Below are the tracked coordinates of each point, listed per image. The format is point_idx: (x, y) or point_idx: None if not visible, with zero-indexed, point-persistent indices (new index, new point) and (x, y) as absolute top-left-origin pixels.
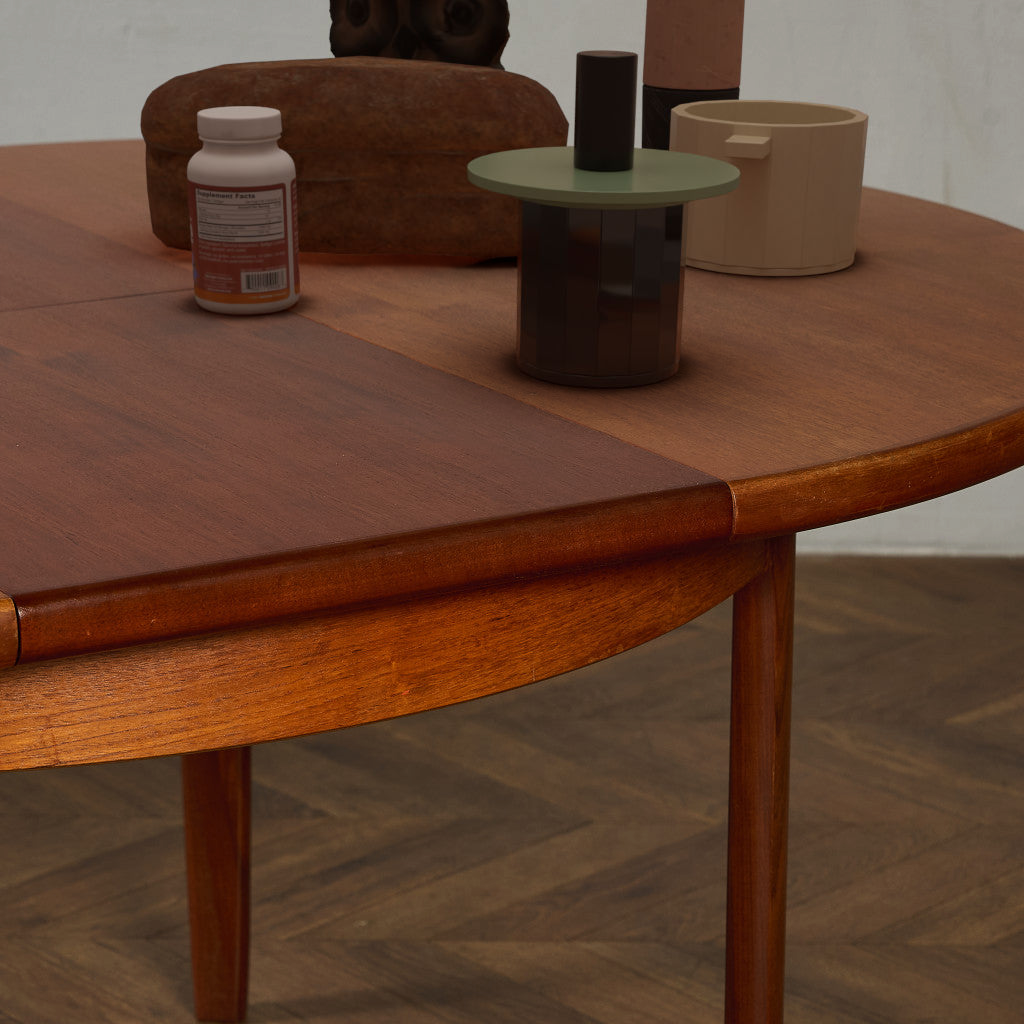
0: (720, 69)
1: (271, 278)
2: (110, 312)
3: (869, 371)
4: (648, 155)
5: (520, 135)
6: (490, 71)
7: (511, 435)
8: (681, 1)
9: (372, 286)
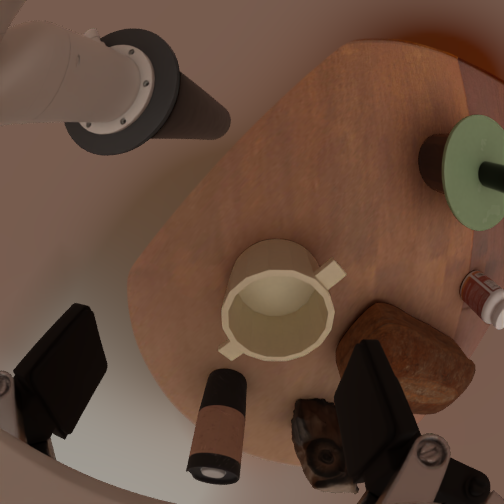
0: (217, 412)
1: (480, 274)
2: None
3: (366, 99)
4: (460, 188)
5: (405, 328)
6: None
7: None
8: (235, 444)
9: (435, 293)
